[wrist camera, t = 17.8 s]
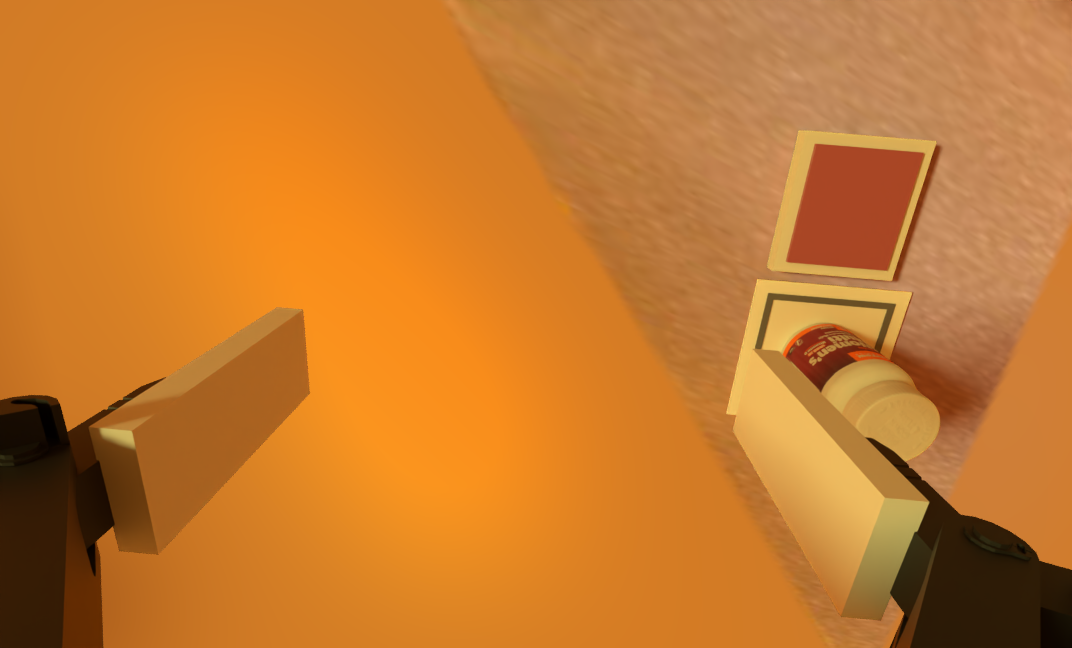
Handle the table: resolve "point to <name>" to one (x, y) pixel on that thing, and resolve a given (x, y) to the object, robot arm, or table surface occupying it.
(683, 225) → the table surface
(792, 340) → the pill bottle
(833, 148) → the pad
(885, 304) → the paper sheet
